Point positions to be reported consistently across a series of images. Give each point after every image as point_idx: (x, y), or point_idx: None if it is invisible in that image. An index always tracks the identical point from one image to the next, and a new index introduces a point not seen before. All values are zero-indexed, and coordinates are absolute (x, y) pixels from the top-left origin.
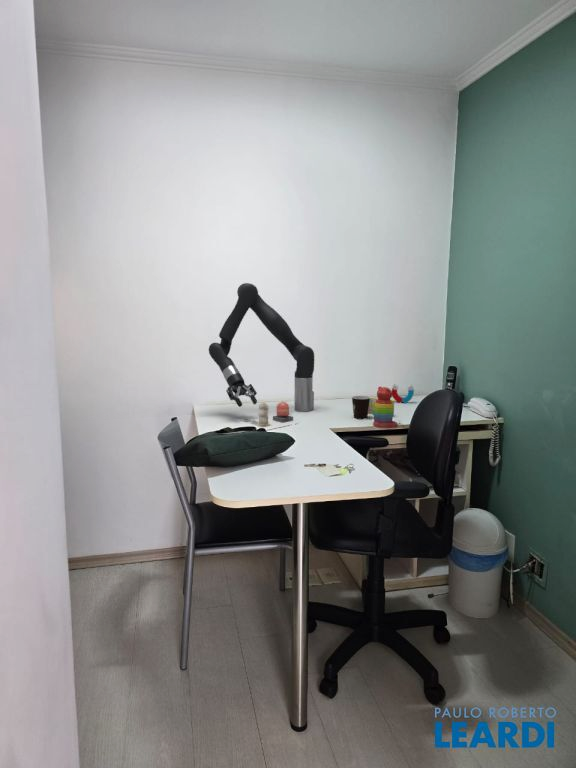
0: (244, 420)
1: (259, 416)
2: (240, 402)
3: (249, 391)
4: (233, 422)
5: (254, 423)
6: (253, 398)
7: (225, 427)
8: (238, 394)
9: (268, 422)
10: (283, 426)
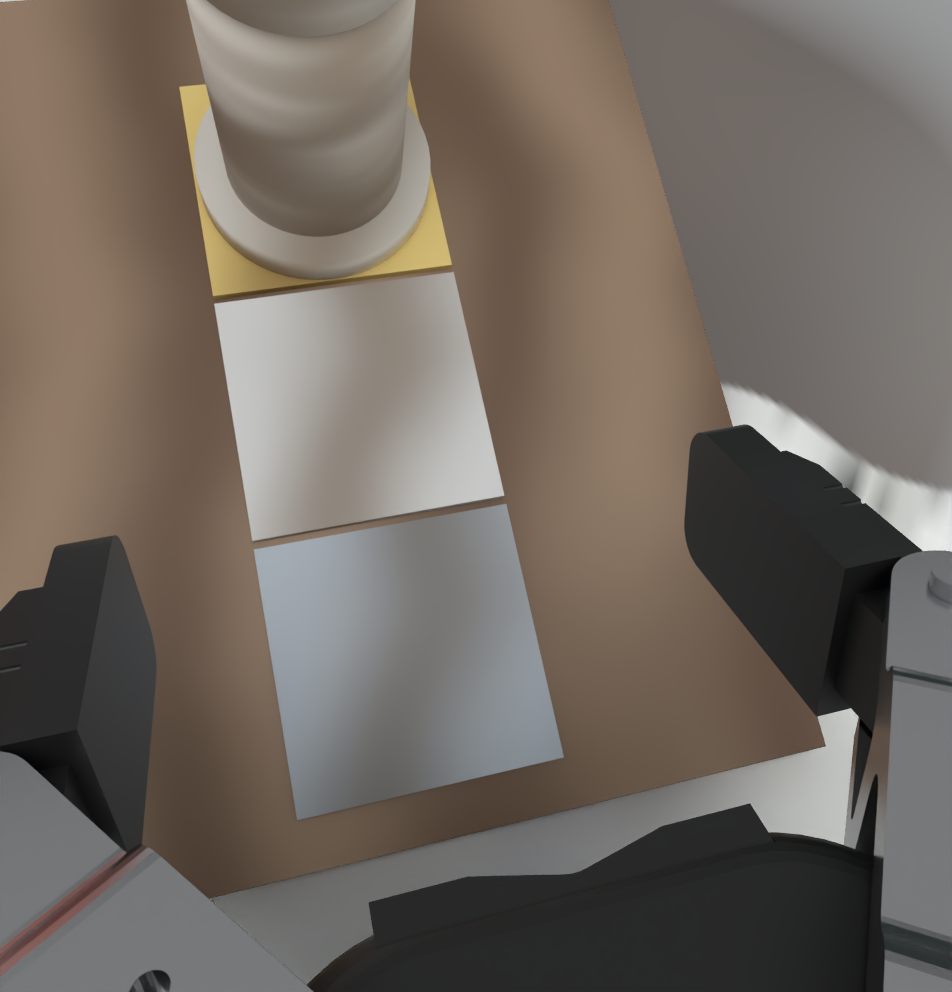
0: (466, 668)
1: (410, 59)
2: (772, 453)
3: (138, 874)
4: (647, 800)
5: (407, 346)
6: (103, 659)
7: (898, 512)
8: (915, 675)
9: (208, 146)
10: (20, 16)
